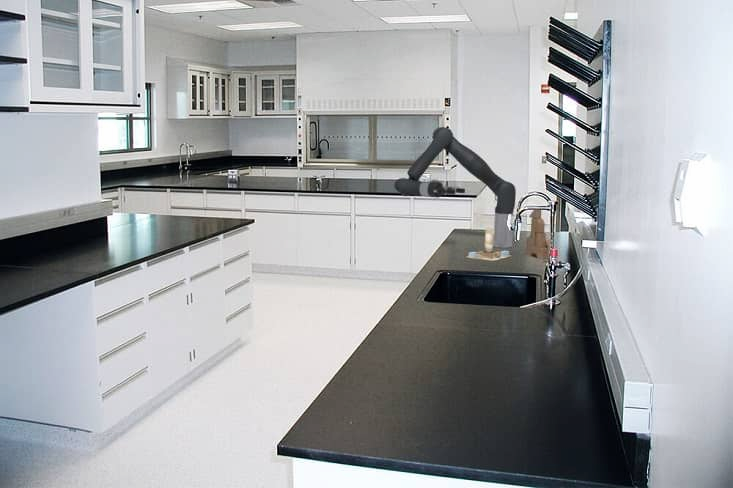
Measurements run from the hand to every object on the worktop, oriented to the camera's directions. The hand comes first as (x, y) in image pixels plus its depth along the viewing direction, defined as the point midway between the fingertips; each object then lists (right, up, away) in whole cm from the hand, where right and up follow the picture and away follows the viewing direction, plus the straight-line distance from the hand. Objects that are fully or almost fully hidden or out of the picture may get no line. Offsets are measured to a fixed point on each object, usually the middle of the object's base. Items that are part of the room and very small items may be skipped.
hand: (459, 191), depth 334 cm
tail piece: (+5, -31, -8) cm, 32 cm away
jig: (+13, -32, -6) cm, 35 cm away
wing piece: (+20, -30, -5) cm, 36 cm away
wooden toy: (+36, -32, -5) cm, 48 cm away
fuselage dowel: (+12, -31, -8) cm, 34 cm away
